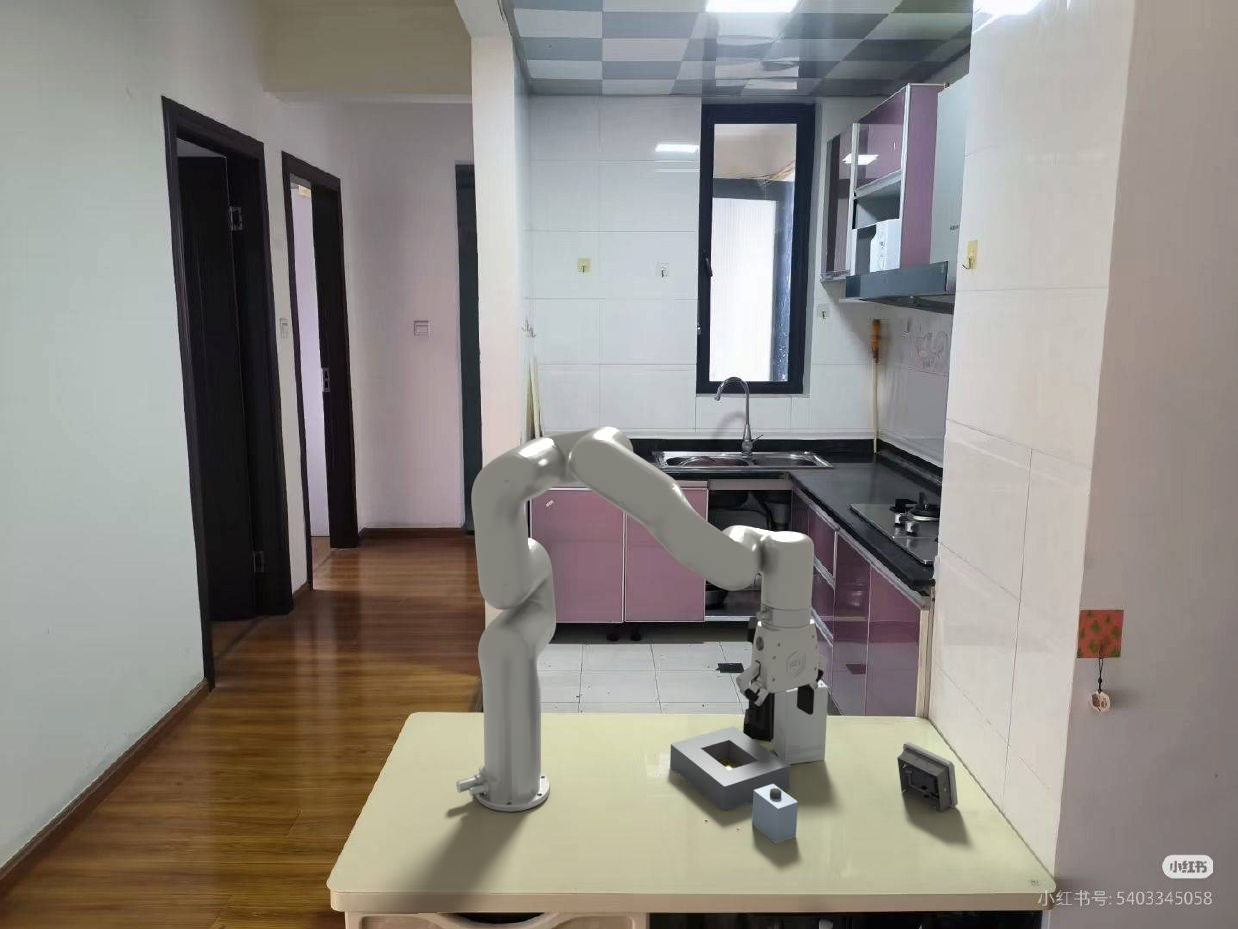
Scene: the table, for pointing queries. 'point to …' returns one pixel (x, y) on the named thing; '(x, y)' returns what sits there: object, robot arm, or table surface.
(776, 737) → the skincare box
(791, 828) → the plug
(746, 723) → the portable radio
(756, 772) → the socket block
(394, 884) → the table surface
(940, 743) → the table surface
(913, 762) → the electrical switch
